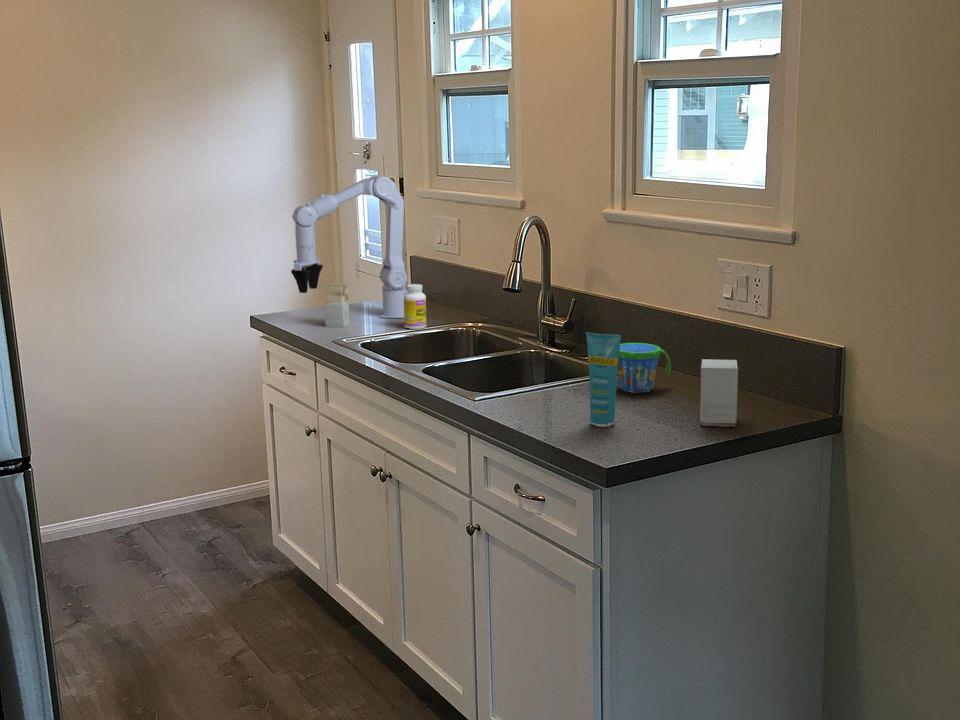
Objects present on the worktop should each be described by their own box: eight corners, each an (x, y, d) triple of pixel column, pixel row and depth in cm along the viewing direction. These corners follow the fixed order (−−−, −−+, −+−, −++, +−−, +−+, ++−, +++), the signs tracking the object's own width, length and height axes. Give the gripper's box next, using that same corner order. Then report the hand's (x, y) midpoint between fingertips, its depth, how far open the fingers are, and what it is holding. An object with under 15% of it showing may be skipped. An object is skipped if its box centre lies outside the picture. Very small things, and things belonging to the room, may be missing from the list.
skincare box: (350, 323, 323) (349, 300, 321) (344, 327, 317) (343, 303, 315) (331, 323, 324) (330, 299, 322) (325, 327, 318) (323, 303, 316)
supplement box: (736, 418, 219) (738, 359, 216) (736, 428, 212) (738, 368, 209) (699, 416, 221) (701, 358, 218) (698, 427, 214) (700, 366, 211)
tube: (582, 426, 216) (582, 334, 211) (588, 419, 220) (589, 329, 215) (617, 429, 213) (618, 337, 208) (623, 422, 217) (624, 332, 213)
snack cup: (665, 383, 247) (666, 341, 245) (675, 395, 237) (676, 351, 234) (599, 385, 246) (599, 343, 244) (606, 397, 236) (606, 353, 234)
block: (332, 299, 322) (332, 283, 321) (348, 300, 321) (347, 284, 320) (326, 302, 317) (325, 286, 316) (341, 303, 316) (341, 287, 315)
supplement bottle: (416, 330, 310) (415, 287, 307) (400, 328, 314) (398, 286, 311) (431, 326, 315) (430, 284, 312) (414, 324, 319) (413, 282, 316)
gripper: (303, 242, 325) (305, 286, 328) (283, 249, 311) (286, 294, 315) (324, 243, 323) (326, 286, 327) (305, 249, 310) (308, 294, 313)
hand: (308, 290), depth 320 cm, fingers open, 7 cm apart
